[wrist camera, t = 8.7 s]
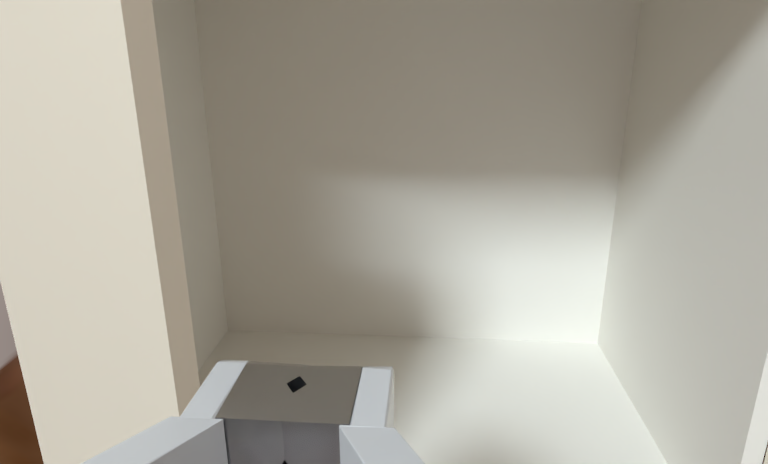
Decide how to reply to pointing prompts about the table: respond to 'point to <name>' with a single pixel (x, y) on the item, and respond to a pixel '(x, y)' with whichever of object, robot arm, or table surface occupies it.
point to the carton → (487, 213)
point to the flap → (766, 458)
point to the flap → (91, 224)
